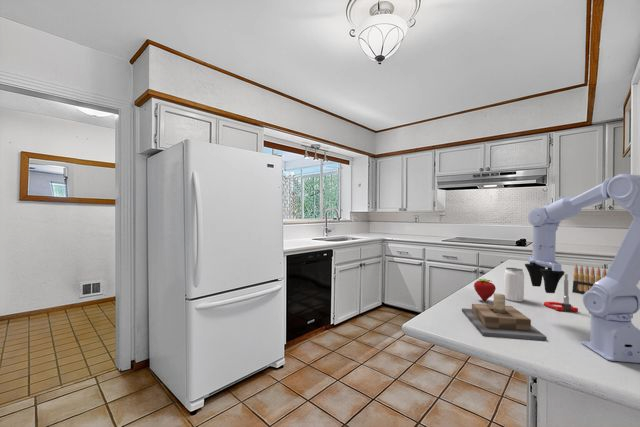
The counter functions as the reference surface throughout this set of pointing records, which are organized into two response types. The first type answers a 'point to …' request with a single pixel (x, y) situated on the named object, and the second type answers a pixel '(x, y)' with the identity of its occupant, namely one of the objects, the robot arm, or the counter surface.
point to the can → (514, 284)
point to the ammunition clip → (585, 279)
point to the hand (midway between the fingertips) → (542, 289)
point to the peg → (499, 303)
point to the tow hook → (565, 305)
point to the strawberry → (484, 288)
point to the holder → (502, 322)
